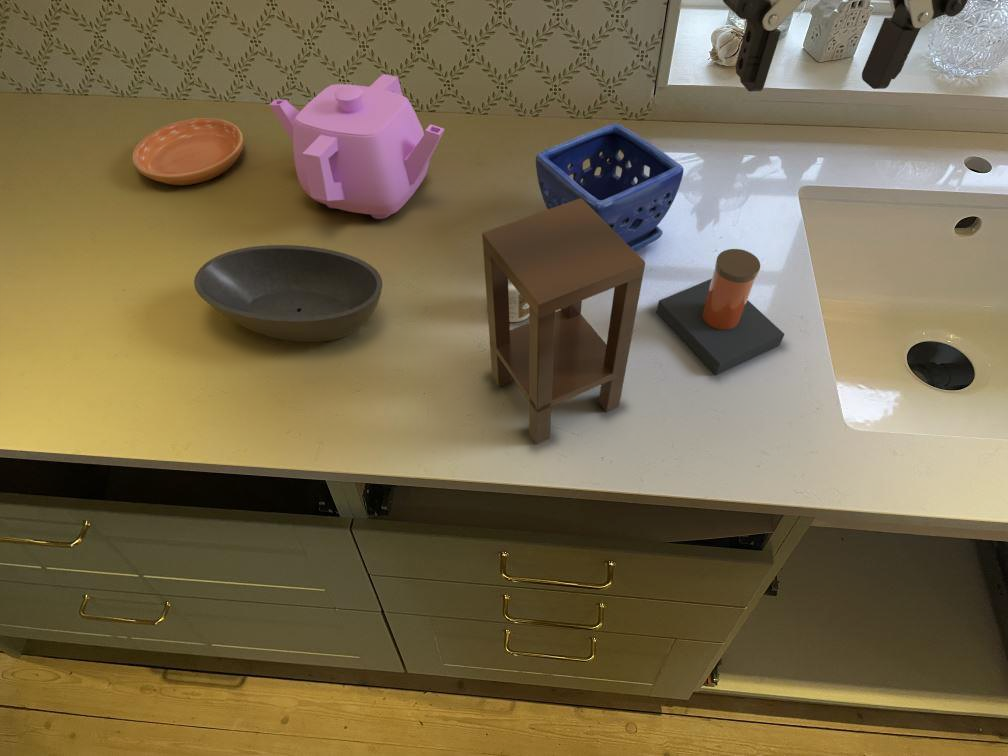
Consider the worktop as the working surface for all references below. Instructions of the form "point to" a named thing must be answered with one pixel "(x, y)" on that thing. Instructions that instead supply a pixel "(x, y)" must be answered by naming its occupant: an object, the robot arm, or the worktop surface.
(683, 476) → the worktop surface
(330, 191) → the teapot
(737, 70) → the robot arm
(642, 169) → the flower pot
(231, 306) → the bowl
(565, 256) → the stand
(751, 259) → the spice jar
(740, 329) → the pad
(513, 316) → the pill bottle
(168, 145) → the saucer
